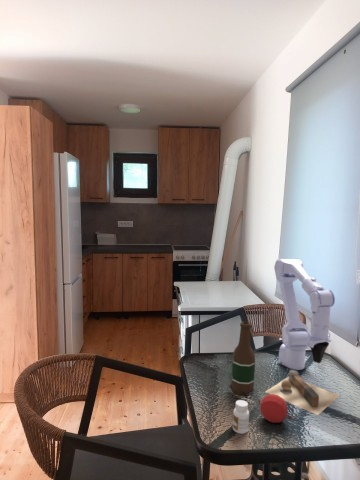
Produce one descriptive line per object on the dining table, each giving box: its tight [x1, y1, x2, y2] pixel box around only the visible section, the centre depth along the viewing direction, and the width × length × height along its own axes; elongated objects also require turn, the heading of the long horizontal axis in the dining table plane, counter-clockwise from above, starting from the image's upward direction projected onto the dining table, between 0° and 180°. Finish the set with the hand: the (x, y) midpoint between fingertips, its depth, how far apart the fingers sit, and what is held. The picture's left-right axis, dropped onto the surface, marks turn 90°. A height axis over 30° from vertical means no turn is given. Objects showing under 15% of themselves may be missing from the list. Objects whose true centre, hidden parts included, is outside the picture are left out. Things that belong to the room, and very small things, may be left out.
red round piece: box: [259, 393, 289, 424], centre depth 105 cm, size 8×8×8 cm
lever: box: [288, 369, 319, 406], centre depth 119 cm, size 18×3×3 cm, turn 6°
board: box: [264, 376, 340, 416], centre depth 118 cm, size 18×17×5 cm
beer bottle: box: [230, 321, 256, 397], centre depth 120 cm, size 8×8×24 cm
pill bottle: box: [232, 399, 250, 435], centre depth 100 cm, size 4×4×8 cm
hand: (317, 361), depth 125 cm, fingers closed
